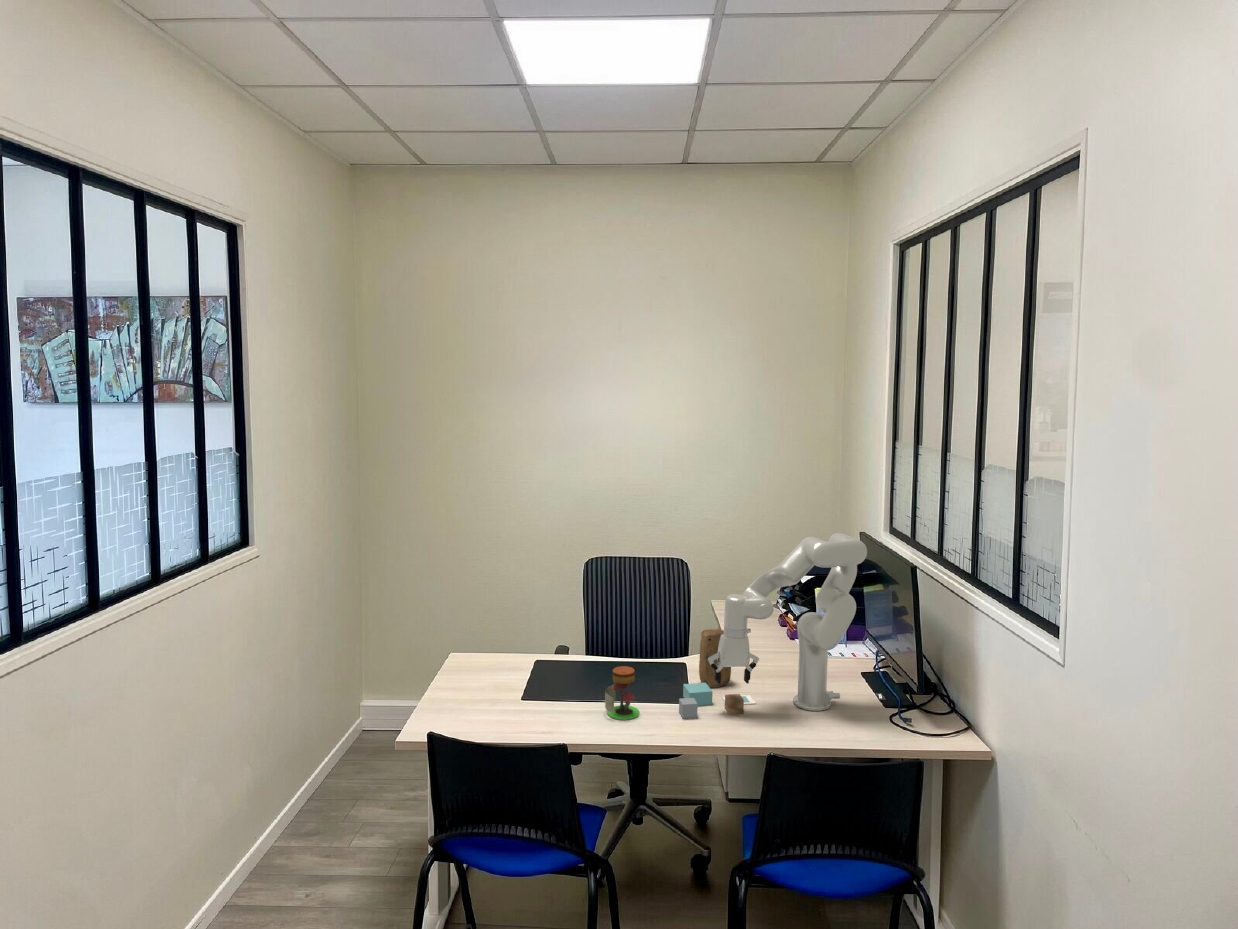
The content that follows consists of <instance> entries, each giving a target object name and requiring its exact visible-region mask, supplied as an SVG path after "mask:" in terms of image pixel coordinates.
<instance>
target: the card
mask: <svg viewBox="0 0 1238 929" xmlns="http://www.w3.org/2000/svg"><path fill="white" fill-rule="evenodd" d="M741 697H742V698H743V699H744V706H747V705H748V706H749V705H751V706H752V705H756V704H757V703H756V701H755V700H754V698H752V697H751V695H750V694H746V695H745V694H744V695H741ZM721 699H722V700H723V702H724V703H725V696H721Z"/></svg>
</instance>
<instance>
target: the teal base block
mask: <svg viewBox="0 0 1238 929" xmlns="http://www.w3.org/2000/svg"><path fill="white" fill-rule="evenodd" d="M682 687H683V688H682V691H683V693H682V698H683V697H684V698H694V699H695V700H696V702H697V704H698V706H697V707H702V705H705V706H712V705H713V690H712V689H711V687H709V686H708V685H707V684H706V683H701V682H695V683H683V686H682Z"/></svg>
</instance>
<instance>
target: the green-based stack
mask: <svg viewBox="0 0 1238 929" xmlns="http://www.w3.org/2000/svg"><path fill="white" fill-rule="evenodd" d="M635 675H636V672H635V669H634V668H633V667H632V666H627V665H626V666H624V665H621V666H616V667H614V668H613V669H612V682H613V684H612V685H610V686H608V687H606V688H605V690H604V692H605V693H604V700H605V701H604V703H605V704H604V707H605V709H606V711H607V716H608V717H610V718H611V719H614V720H619V721H629V720H634V719H636V718H637V717H639V716H640V710H639V709H638V708H637V707H635V706H632V705H631V702H633V701H635V699H636V697H635V696H634V694H633V693H632V692H631V691H625V692H624V693H623V690H626V689H630V687H631V685H630V684H632V683H634V682H635V680H636V678H635V677H636V676H635ZM616 691H620V704H619V705H615V701H616V697H617V696H616V693H617V692H616Z"/></svg>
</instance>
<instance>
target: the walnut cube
mask: <svg viewBox="0 0 1238 929" xmlns="http://www.w3.org/2000/svg"><path fill="white" fill-rule="evenodd" d="M741 696H742V695H741V694H740V693H731V694H725V695H724V697H725V702H724V710H725V709H726V710H725V711H726V713H727V714H728V715H729V716H733V715H734V716H736V715H744V710H745V707H744V706H745V705H744V699H743V698H742V697H741Z"/></svg>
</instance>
